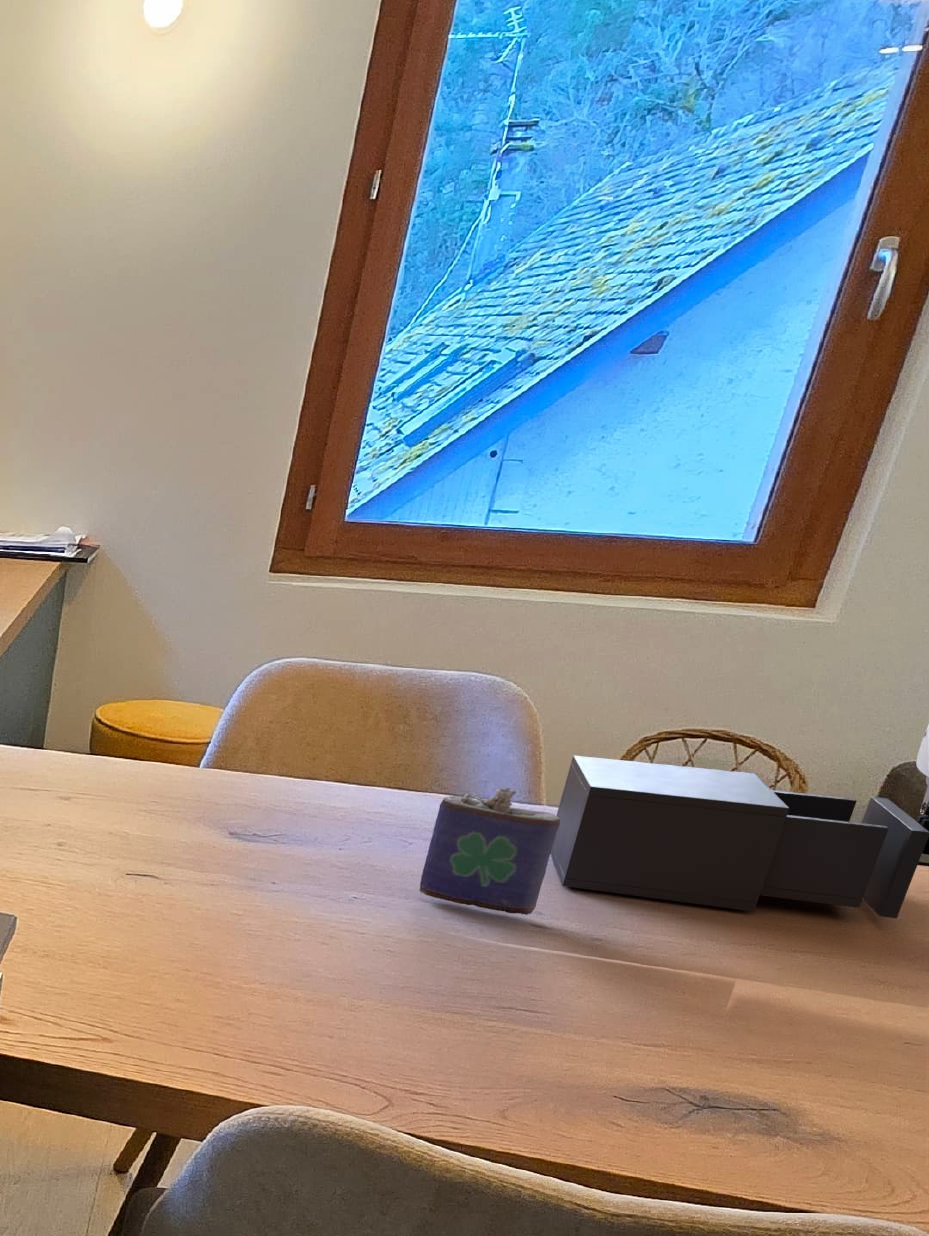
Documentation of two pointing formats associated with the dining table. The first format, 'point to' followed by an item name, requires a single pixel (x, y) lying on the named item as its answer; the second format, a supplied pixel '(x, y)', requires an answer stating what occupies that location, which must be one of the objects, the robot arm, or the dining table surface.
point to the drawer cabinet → (667, 832)
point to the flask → (489, 853)
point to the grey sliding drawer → (845, 853)
